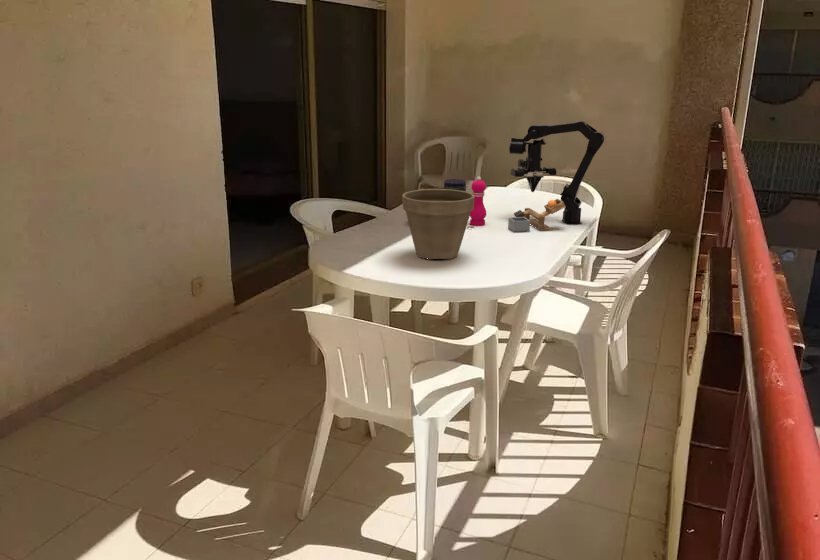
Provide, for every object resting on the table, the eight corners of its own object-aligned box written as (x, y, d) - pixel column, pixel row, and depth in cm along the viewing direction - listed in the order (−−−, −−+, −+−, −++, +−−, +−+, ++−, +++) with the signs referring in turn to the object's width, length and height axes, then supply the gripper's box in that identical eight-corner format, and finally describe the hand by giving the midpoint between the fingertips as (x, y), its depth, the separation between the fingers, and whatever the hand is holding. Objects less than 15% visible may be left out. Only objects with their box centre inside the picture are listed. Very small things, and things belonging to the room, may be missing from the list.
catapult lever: (549, 199, 281) (547, 193, 280) (565, 207, 266) (563, 201, 265) (515, 217, 281) (513, 212, 280) (529, 227, 266) (527, 221, 265)
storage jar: (465, 212, 299) (466, 179, 294) (465, 217, 290) (466, 183, 285) (443, 211, 300) (444, 179, 295) (442, 216, 291) (443, 182, 286)
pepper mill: (485, 226, 274) (487, 178, 268) (467, 225, 275) (469, 177, 269) (486, 222, 281) (488, 175, 274) (469, 221, 282) (471, 174, 276)
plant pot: (431, 241, 252) (432, 184, 245) (486, 253, 237) (488, 193, 230) (387, 256, 233) (387, 195, 226) (444, 269, 218) (445, 205, 212)
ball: (555, 202, 270) (550, 197, 269) (559, 204, 267) (553, 199, 265) (550, 209, 270) (544, 204, 269) (553, 211, 267) (547, 206, 266)
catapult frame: (535, 220, 284) (536, 207, 283) (552, 230, 268) (553, 217, 266) (523, 221, 283) (524, 208, 282) (539, 231, 267) (540, 217, 265)
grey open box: (523, 227, 272) (524, 216, 271) (529, 231, 266) (530, 220, 265) (508, 228, 271) (508, 217, 270) (513, 232, 265) (514, 221, 263)
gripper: (547, 151, 288) (545, 187, 292) (506, 153, 284) (505, 189, 289) (558, 155, 277) (555, 192, 282) (516, 156, 273) (514, 194, 278)
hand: (532, 191), depth 283 cm, fingers closed
